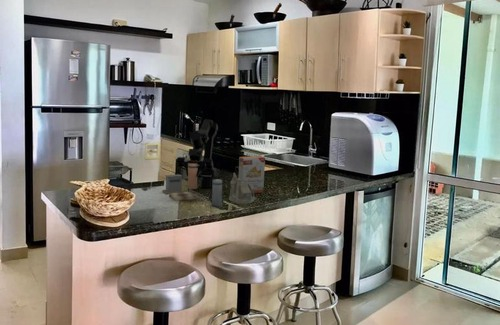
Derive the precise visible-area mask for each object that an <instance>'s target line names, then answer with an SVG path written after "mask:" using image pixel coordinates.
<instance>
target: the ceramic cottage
mask: <svg viewBox="0 0 500 325" xmlns="http://www.w3.org/2000/svg"><path fill="white" fill-rule="evenodd" d="M232 175H233V176H232V178H231V180H230V189H229V190H230V191H229V196H228V201H229V200H230V201H229V202H231V201H232V202H231V203H234V204H237V205H248V204H252V203H253V202H254V201H256V197H255V193H254V190H255V189H254V187H253V185H252V184H247V181H245V183H243V182H241V179H239V177H237V175H236V173H235V172H233V174H232Z"/></svg>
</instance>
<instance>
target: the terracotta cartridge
mask: <svg viewBox="0 0 500 325" xmlns="http://www.w3.org/2000/svg"><path fill="white" fill-rule="evenodd" d="M198 168H199V165H197V163H188V176H187V189H189V190H196V189H198V177H196V175H197V171H198Z"/></svg>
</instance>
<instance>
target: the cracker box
mask: <svg viewBox="0 0 500 325" xmlns="http://www.w3.org/2000/svg"><path fill="white" fill-rule="evenodd" d="M238 160H239V161H238V178H239V179H241V182H243V183H245V181H247V184H252V185H253V187H254V189H255V190H254V194H264V187H265V186H264V184H265V167H266V166H265V165H266V157H264V156H261V155H258V156H256V155H255V156H239V158H238Z"/></svg>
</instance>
